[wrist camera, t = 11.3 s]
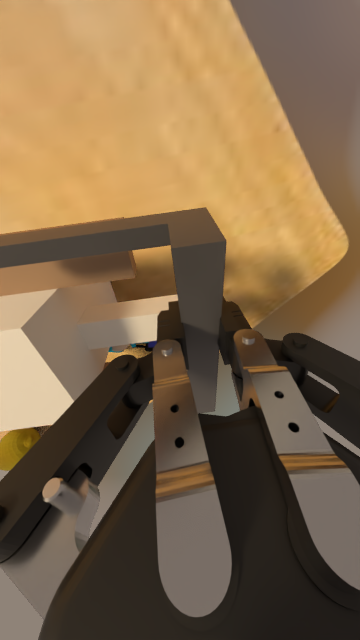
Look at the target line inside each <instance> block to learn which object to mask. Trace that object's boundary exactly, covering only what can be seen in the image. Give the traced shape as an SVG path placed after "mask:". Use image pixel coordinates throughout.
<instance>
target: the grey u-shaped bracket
mask: <svg viewBox="0 0 360 640" xmlns="http://www.w3.org/2000/svg"><path fill="white" fill-rule="evenodd" d="M167 245H171V251H172V258H173V266H174V273H175V281H176V288H177V295H178V303H179V310H180V318H181V323H183V325H184V332H185V338H186V346H187V354H188V362H189V370H187V375H188V376H189V379H190V383H191V388H192V392H193V396H194V400H195V404H196V409H197V413H205V412H213V411H215V404H216V403H215V402H216V388H217V373H218V359H219V347H218V338H219V322H220V318H221V314H222V299H223V284H224V269H225V254H226V239H225V238H224V236H223V234H222V233H221V231H220V230H219V228H218V226H217V225H216V223H215V221H214V220H213V218H212V216H211V215H210V213H209V212H208V210H207V208H206V207H205V208H198V209H191V210H183V211H176V212H169V213H161V214H154V215H147V216H139V217H132V218H125V219H118V220H110V221H103V222H96V223H88V224H81V225H74V226H67V227H59V228H52V229H45V230H37V231H30V232H23V233H15V234H8V235H1V236H0V268H6V267H14V266H21V265H28V264H36V263H43V262H50V261H58V260H65V259H72V258H79V257H87V256H94V255H101V254H109V253H116V252H123V251H131V250H138V249H145V248H153V247H160V246H167Z"/></svg>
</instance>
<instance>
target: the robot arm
mask: <svg viewBox="0 0 360 640" xmlns="http://www.w3.org/2000/svg"><path fill="white" fill-rule="evenodd" d="M168 305H169V310H164V311H161V312H160V313H159V315H158V316H157V344H156V345H155V346H154V348H153V352H151V353H150V354H149V355H147V356H145V357H142V358H140V359H136V357H134V356H132V355H122V356H119V357H117V358H115V359H114V360H112V361H111V362H110V363H109V365H108V366H107V367H106V368H105V369H104V370H103V371H102V372H101V373H100V374H99V375H98V376H97V378H96V379H95V380H94V381H93V382H92V383H91V384H90V385H89V386H88V387H87V388H86V389H85V390H84V392H83V393H82V394H81V395H80V396H79V397H78V398H77V399H76V400H75V401H74V402H73V403H72V404H71V406H70V407H69V408H68V409H67V410H66V411H65V412H64V413H63V414H62V415H61V416H60V417H59V419H58V420H57V421H56V422H55V423H54V424H53V425H52V426H51V427H50V428H49V429H48V430H47V431H46V433H45V434H44V435H43V436H42V437H41V438H40V439H39V440H38V441H37V442H36V443H35V444H34V445H33V447H32V448H31V449H30V450H29V451H28V452H27V453H26V454H25V455H24V456H23V457H22V458H21V459H20V461H19V462H18V463H17V464H16V465H15V466H14V467H13V468H12V469H11V470H10V471H9V472H8V474H7V475H6V476H5V477H4V478H3V479H2V480H1V481H0V568H1V569H3V571H4V572H5V573H6V574H7V576H8V577H9V578H10V579H11V580H12V582H13V583H14V584H15V585H16V587H17V588H18V589H19V590H20V591H21V593H22V594H23V595H24V596H25V597H26V599H27V600H28V601H29V602H30V603H31V605H32V606H33V607H34V609H35V610H36V611H37V612H38V613H39V614H40V616H41V617H42V618H43V619H44V622H43V625H42V628H41V632H40V635H39V639H38V640H360V457H359V456H357V455H356V454H354V453H353V452H351V451H350V450H349V449H347V448H346V447H344V446H343V445H341V444H340V443H338V442H337V441H335V440H334V439H333V438H331V437H329V436H328V435H327V434H325V433H324V432H322V430H321V428H320V427H319V425H318V423H317V421H316V419H315V417H314V416H313V414H314V415H315V416H317V417H318V418H319V419H321V420H322V421H323V422H325V423H326V424H327V425H328V426H330V427H331V428H333V429H334V430H335V431H336V432H338V433H339V434H340V435H342V436H343V437H344V438H346V439H347V440H348V441H350V442H351V443H352V444H354V445H355V446H356V447H358V448H359V449H360V361H358V360H356V359H354V358H352V357H350V356H348V355H346V354H344V353H342V352H340V351H338V350H336V349H334V348H332V347H329V346H328V345H325V344H324V343H322V342H320V341H317V340H315V339H313V338H311V337H309V336H307V335H304V334H300V333H289V334H287V335H285V336H284V337H283V341H278V340H269V339H264V338H263V336H262V335H261V334H260V333H259V332H257V331H255V330H252V328H251V327H250V325H249V323H248V322H247V320H246V318H245V317H244V316H243V313H242V312H241V310H240V308H239V307H238V305H236V304H235V303H233V302H232V301H231V302H226V301H225V299H224V297H223V299H222V314H221V318H220V322H219V338H218V347H219V350H220V353H221V355H222V358H223V361H224V364H225V365H227V364H230V365H231V368H232V379H233V383H234V387H235V391H236V395H237V399H238V403H239V407H240V411H239V412H237V413H234V414H232V415H230V416H226V417H225V416H216V415H208V414H200V413H199V414H198V413H197V409H196V404H195V400H194V396H193V392H192V388H191V383H190V379H189V376H188V375H187V370H189V362H188V354H187V346H186V338H185V332H184V325H183V323H181V318H180V310H179V303H178V301H171V302H168ZM308 371H310V372H312V373H313V374H315V375H316V376H318V377H320V378H321V379H323V380H325V381H326V382H328V383H330V384H331V385H333V386H334V387H335V388H336V389H337V390H338V391H339V394H338V393H336V392H334V391H332V390H331V389H329V388H328V387H326V386H325V385H323V384H321V383H320V382H318V381H317V380H315V379H313V378H312V377H310V376H309V375H307V374H308ZM152 399H153V409H154V410H153V411H154V432H155V439H154V441H153V442H152V443H151V445H150V446H149V447H148V449H147V450H146V452H145V453H144V455H143V457H142V458H141V459H140V461H139V463H138V464H137V466H136V467H135V469H134V470H133V472H132V473H131V475H130V476H129V478H128V479H127V481H126V483H125V484H124V486H123V487H122V489H121V490H120V492H119V493H118V495H117V496H116V498H115V500H114V501H113V503H112V504H111V506H110V507H109V509H108V510H107V512H106V514H105V515H104V517H103V518H102V520H101V521H100V523H99V524H98V526H97V527H96V529H95V530H94V532H93V534H92V535H91V536H90V538H89V532H90V527H91V524H92V521H93V519H94V516H95V514H96V512H97V509H98V506H99V502H100V492H99V489H98V485H99V484H100V482H101V480H102V479H103V477H104V475H105V474H106V472H107V470H108V469H109V467H110V465H111V464H112V462H113V461H114V459H115V458H116V456H117V454H118V453H119V451H120V449H121V448H122V446H123V444H124V443H125V441H126V440H127V438H128V436H129V435H130V433H131V431H132V430H133V428H134V427H135V425H136V423H137V421H138V420H139V418H140V417H141V415H142V414H143V412H144V410H145V409H146V407H147V405H148V404H149V401H150V400H152ZM312 413H313V414H312Z"/></svg>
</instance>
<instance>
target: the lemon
mask: <svg viewBox="0 0 360 640" xmlns="http://www.w3.org/2000/svg"><path fill="white" fill-rule="evenodd" d="M40 438H41V437H40V434H39V433H38V432H37V430H36V429H34V428H33V427H31V428H23V429H16V430H12V431H10V432H9V433H8V434H6V435H5V436H4V437H3V438H2V439H1V440H0V470H7V471H8V470H11V469H12V468H13V467H14V466H15V465H16V464H17V463H18V462H19V461H20V459H21V458H22V457H23V456H24V455H25V454H26V453H27V452H28V451H29V450H30V449H31V448H32V447H33V445H34V444H35V443H36V442H37V441H38V440H39V439H40Z"/></svg>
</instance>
